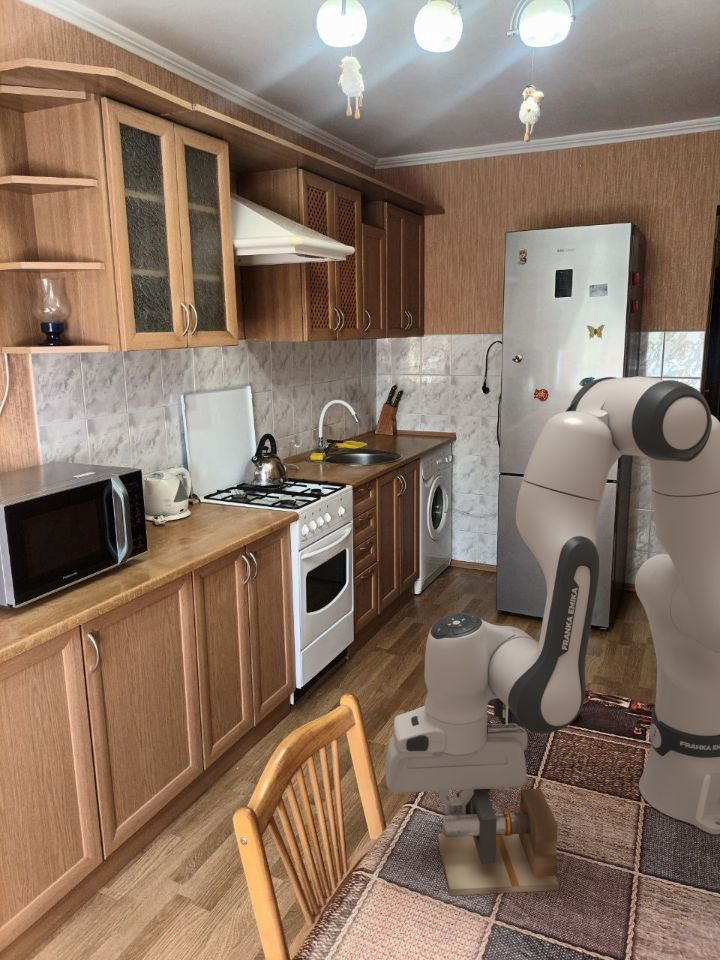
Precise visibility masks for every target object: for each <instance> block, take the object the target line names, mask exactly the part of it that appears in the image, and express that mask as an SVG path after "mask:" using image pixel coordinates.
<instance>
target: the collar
mask: <svg viewBox="0 0 720 960" xmlns="http://www.w3.org/2000/svg"><path fill="white" fill-rule="evenodd" d="M495 813H496V812H495V811H494V808H493V805H492V802H491V799H490V796H489V792H488V793H487V790H486V789H474V795H473V796H472V811H471V814H477V815H478V818H479V822H480V828H479V836H473V838H474V841H475V845H476V848H477V852H478V855H479V858H480V862H481V864H495V862H496V824H497V819H496V816H495Z"/></svg>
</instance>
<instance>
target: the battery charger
mask: <svg viewBox="0 0 720 960" xmlns="http://www.w3.org/2000/svg"><path fill="white" fill-rule="evenodd" d="M493 716H495V717H496V718H499V721H500V724H503V725H505V724H510V723H514V724H517V725H518V726H520V727H522V728H524V726H523V725H522V724H521V723H520V722H519V720H518V719H517V718H516V717H515V716H514V714H513V713H512V712H511V710H510V709H509V708H508V707H507V706H506V705H505V704H504V703H503V702H502V701H501V700H500V699H499V698H496V699H493ZM518 730H520V729H518Z"/></svg>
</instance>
